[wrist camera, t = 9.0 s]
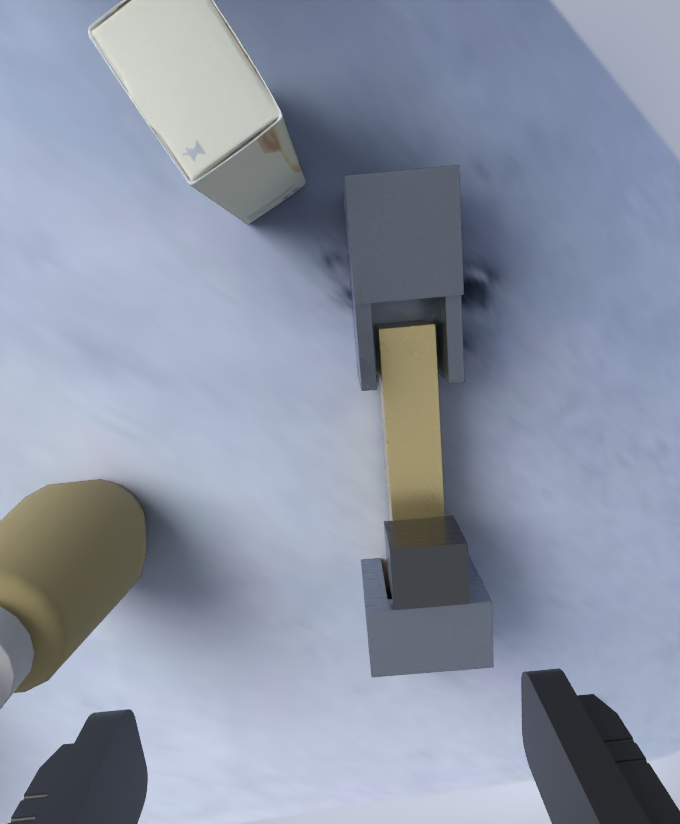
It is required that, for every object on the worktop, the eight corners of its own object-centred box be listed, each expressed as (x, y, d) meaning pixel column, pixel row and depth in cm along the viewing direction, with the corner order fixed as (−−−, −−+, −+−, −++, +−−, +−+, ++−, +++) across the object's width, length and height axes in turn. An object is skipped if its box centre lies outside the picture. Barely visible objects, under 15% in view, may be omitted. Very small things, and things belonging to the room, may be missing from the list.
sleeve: (342, 193, 32) (344, 175, 26) (437, 184, 32) (459, 165, 26) (358, 375, 34) (362, 393, 29) (446, 367, 34) (467, 383, 29)
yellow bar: (366, 325, 33) (373, 336, 26) (434, 319, 32) (458, 328, 26) (387, 600, 37) (398, 667, 30) (448, 595, 37) (471, 661, 30)
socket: (361, 559, 37) (366, 612, 31) (466, 550, 37) (491, 601, 31) (365, 615, 38) (371, 677, 32) (468, 607, 38) (493, 667, 32)
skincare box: (309, 183, 32) (293, 124, 20) (246, 227, 32) (194, 196, 20) (243, 77, 30) (183, -55, 18) (178, 125, 31) (80, 27, 19)
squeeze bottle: (166, 467, 35) (1, 651, 18) (162, 582, 37) (10, 852, 20) (36, 455, 35) (-261, 631, 17) (40, 572, 37) (-227, 836, 19)
